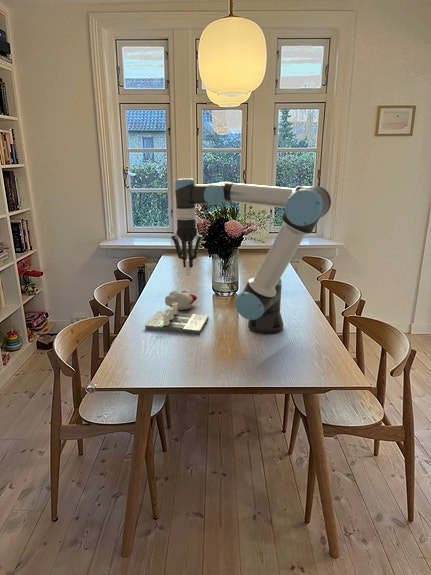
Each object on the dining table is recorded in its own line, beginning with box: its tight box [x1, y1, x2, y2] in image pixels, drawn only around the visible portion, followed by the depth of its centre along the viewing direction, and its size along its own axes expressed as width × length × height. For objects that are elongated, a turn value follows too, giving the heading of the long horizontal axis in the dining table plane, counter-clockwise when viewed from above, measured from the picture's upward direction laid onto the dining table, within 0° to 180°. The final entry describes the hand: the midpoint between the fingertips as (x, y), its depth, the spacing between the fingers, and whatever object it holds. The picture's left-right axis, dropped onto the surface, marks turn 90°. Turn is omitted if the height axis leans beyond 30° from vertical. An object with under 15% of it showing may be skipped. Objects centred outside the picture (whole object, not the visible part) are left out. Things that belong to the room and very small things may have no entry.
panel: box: [144, 310, 210, 336], centre depth 175 cm, size 24×16×2 cm, turn 78°
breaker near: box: [163, 313, 170, 326], centre depth 169 cm, size 2×2×5 cm
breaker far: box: [172, 303, 179, 315], centre depth 180 cm, size 2×2×5 cm
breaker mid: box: [167, 306, 174, 320], centre depth 174 cm, size 2×2×5 cm
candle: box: [164, 290, 198, 311], centre depth 192 cm, size 9×11×15 cm
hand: (188, 274), depth 167 cm, fingers closed
